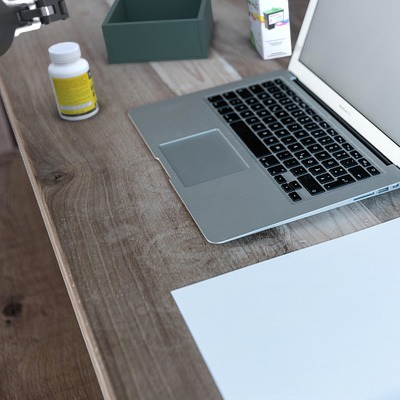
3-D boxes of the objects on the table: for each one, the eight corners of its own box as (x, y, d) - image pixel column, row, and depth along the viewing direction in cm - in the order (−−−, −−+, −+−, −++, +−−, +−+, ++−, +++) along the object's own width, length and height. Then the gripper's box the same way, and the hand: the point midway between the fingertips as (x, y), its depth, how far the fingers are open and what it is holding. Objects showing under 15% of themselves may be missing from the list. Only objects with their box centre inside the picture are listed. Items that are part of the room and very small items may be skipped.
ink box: (249, 42, 119) (242, -29, 113) (278, 37, 121) (272, -33, 114) (263, 61, 113) (256, -13, 106) (293, 56, 114) (288, -18, 107)
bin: (109, 65, 114) (101, 25, 110) (126, 28, 126) (118, -8, 123) (207, 59, 114) (202, 19, 110) (213, 23, 127) (209, -13, 123)
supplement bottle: (105, 114, 100) (89, 48, 94) (67, 126, 97) (49, 59, 92) (91, 100, 103) (76, 36, 98) (55, 111, 101) (36, 46, 95)
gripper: (17, -25, 68) (70, -30, 83) (-127, 3, 68) (-47, -6, 83) (41, 53, 70) (88, 35, 85) (-97, 80, 71) (-26, 57, 86)
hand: (21, 14), depth 84 cm, fingers open, 8 cm apart
